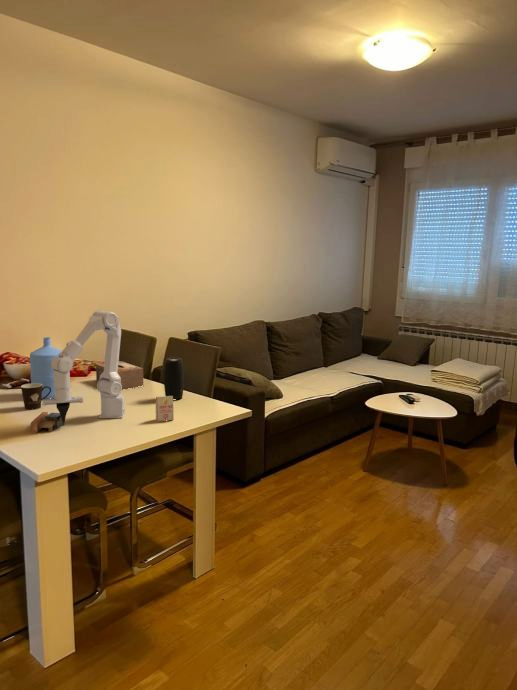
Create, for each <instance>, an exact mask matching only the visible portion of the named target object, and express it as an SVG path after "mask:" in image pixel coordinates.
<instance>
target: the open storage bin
mask: <svg viewBox="0 0 517 690" xmlns="http://www.w3.org/2000/svg"><path fill="white" fill-rule="evenodd" d="M45 419H55V424H54V425H53V426H52V429H59V428H60V427H63V426H64V425H65V423H63V421H62V417H61V415H60V413H59V412H50V413H48V415H46V416H45Z"/></svg>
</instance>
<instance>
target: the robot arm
mask: <svg viewBox="0 0 517 690" xmlns="http://www.w3.org/2000/svg"><path fill="white" fill-rule="evenodd" d="M100 330H103V331H104V332H105V333H106V345H105V355H104V363H105V364H104V372H103V373H102V374H101V375H100V379H99V381H98V382H96V383H97V384H96V389H97V391H99V393H100V415H99V416H98V419H123V417H124V415H125V414H126V411H125V410H126V409H125V408H126V406H125V395H123V394H121V392H122V391H123V390H122V385H121V378H120V376H119V375H118V373H117V371H118V361H120V350H121V348H120V347H121V339H122V338H121V337H122V328H121V325H120V317H119V316H118V315H117V314H116V313H115V312H114V311H106V310H105V311H104V310H101V309H100V310H96V311H94V312H93V313H92V315H91V316H90V317H89V318H88V321H87V322H86V324H85V326H84V327H83V329H82V330H81V331H80V332H79V334H78V335H77V336H76V338H75V340H70V341H67V343H65V345H66V346H65V347H64V348H63V349H62V352H61V353H59V354H58V355H59V356H57V357H55V358H54V359H53V360H52V363H51V364H50V367H51V368H52V369H53V371H54V391H55V398H51V399H43V400H42V401H41V406H44V407H45V406H48V405H55V406H56V409H57V411H58V413H60V415H61V417H62V421H63V423H64V424H65V423H66V418H67V414H68V411H69V408H70V405H71V404H83V403H84V397H83V396H71V376H70V375H71V373H70V371H71V370H73V366H74V362H75V361H76V359H77V358H78V357H79V356H80V354H81V353H82V351H83V349H84V345H85V343H86V342H87V341H88V340H89V339H90V338H91V336H93V334H95V332H96V331H100Z"/></svg>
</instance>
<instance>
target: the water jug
mask: <svg viewBox="0 0 517 690" xmlns="http://www.w3.org/2000/svg"><path fill="white" fill-rule="evenodd" d="M42 344H43V346H41V347H40V348H38V349H35V350H34V351H31V352H30V353H29V366H30V382H31V383H30V384H32V383H38V384H42V385H43V386H42V388H43V387H45V386H48V387H50V388H51V392H50V389H49V388H44V389H43V391H42V398H43V397H45V396H46V395H47V394H48V393H49V392H50V394H49V395H48V396H47V397H46V398H44V399H50V398H55V391H54V371H53V369H52V368H51V367H50V364H51V363H52V360H53V359H54V358H55V357H57V356H59V355H58V354H59V353H61V352H62V351H63V349H62V350H61V349H59V348H56V347H54V346H52V345H51V337H49V336H47V337H46V336H45V337H43V343H42ZM42 398H41V399H42Z"/></svg>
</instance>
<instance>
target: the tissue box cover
mask: <svg viewBox="0 0 517 690" xmlns="http://www.w3.org/2000/svg"><path fill="white" fill-rule="evenodd" d="M104 364H105V362H102V363H95V378H96V380H95V381H99V379H100V375H101V374H102V373H103V372H104ZM117 373H118V375H119V376H120V378H121V385H122V390H121V391H124V390H123V389H125V390H129V389H128V388H132V389H134V388H133V387H138V386H142V385H143V386H144V368H143V367H139V366H137V365H134V364H130V363H127V362H125V361H122V360H121V361H120V360H119V361H118V371H117ZM138 388H139V387H138Z"/></svg>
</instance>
